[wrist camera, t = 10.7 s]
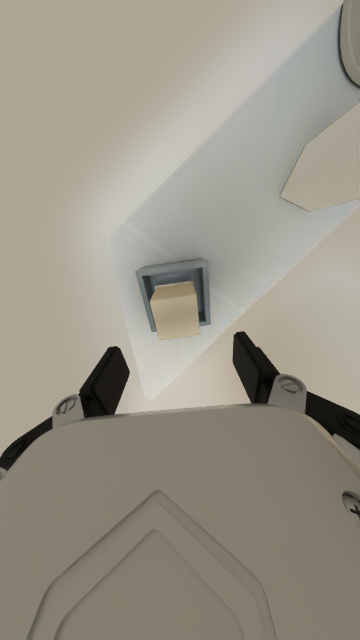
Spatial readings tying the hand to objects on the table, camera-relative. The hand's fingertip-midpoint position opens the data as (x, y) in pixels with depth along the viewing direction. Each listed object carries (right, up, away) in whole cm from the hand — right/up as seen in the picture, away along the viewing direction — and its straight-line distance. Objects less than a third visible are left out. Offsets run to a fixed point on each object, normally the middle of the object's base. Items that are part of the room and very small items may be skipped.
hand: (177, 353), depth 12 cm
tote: (0, +9, +17) cm, 19 cm away
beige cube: (0, +6, +12) cm, 13 cm away
